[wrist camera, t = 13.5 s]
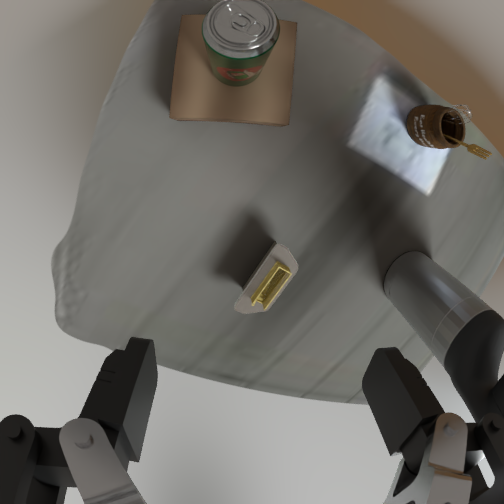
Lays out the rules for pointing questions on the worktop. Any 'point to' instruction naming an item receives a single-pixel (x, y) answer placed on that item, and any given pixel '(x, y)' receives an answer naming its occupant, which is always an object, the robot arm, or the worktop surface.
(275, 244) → the grey flat gold-topped slab
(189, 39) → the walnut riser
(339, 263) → the worktop surface
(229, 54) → the soda can
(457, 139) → the utensil holder
